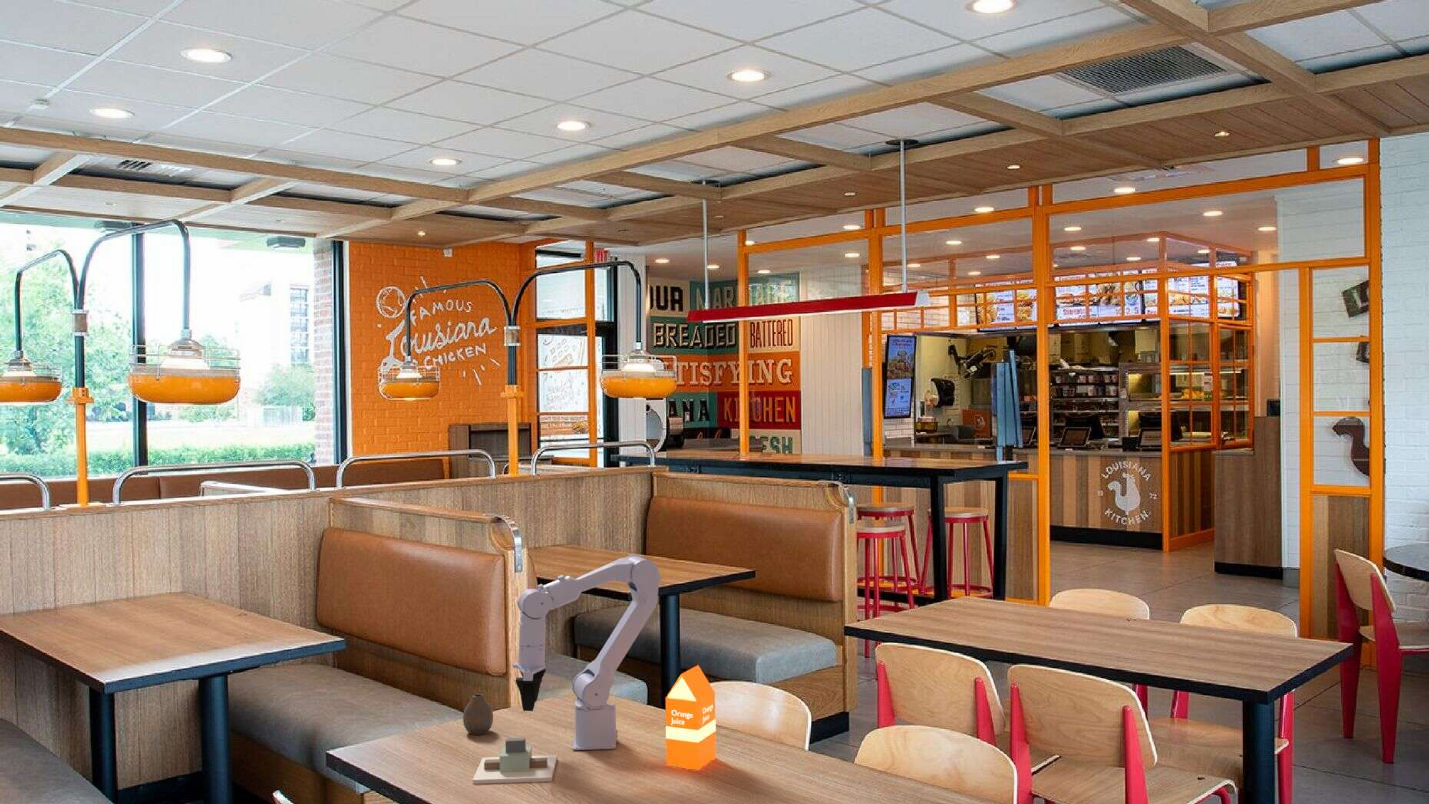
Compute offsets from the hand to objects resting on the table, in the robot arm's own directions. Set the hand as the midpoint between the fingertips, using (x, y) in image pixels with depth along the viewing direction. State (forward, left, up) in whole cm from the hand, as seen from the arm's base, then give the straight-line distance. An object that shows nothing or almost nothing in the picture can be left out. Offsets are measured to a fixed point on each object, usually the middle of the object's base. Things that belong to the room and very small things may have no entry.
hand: (530, 705), depth 254 cm
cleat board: (+2, +12, -10) cm, 16 cm away
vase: (+14, -16, -11) cm, 24 cm away
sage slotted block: (+2, +12, -10) cm, 15 cm away
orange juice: (-35, +10, -11) cm, 38 cm away
